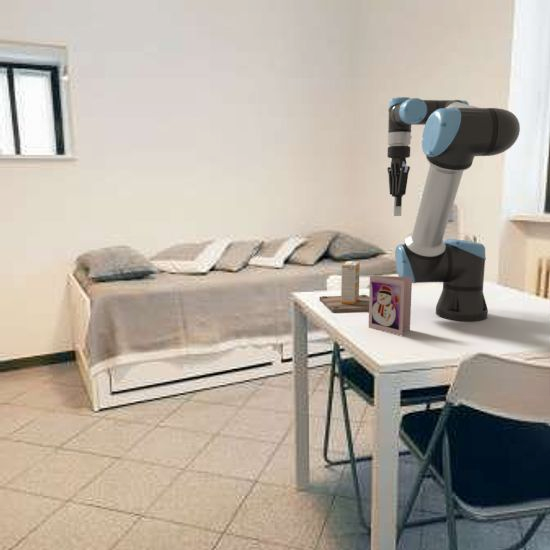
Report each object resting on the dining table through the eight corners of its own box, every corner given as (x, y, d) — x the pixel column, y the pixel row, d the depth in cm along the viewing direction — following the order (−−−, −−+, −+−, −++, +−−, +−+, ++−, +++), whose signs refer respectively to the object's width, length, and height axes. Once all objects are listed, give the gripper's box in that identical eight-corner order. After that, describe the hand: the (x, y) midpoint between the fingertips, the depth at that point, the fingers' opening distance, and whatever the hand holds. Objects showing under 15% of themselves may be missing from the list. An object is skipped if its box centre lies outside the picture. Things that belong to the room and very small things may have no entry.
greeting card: (366, 328, 150) (367, 276, 147) (382, 323, 155) (384, 272, 152) (400, 336, 141) (402, 281, 139) (416, 331, 146) (418, 278, 144)
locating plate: (383, 310, 170) (383, 305, 169) (332, 312, 167) (332, 307, 167) (366, 298, 187) (366, 294, 187) (319, 300, 185) (319, 295, 185)
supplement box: (355, 304, 173) (356, 265, 170) (340, 303, 174) (341, 264, 172) (359, 299, 180) (360, 261, 178) (345, 298, 182) (346, 260, 179)
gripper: (418, 144, 173) (415, 216, 177) (401, 147, 186) (398, 214, 190) (396, 144, 172) (394, 217, 176) (381, 147, 184) (379, 214, 188)
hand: (396, 215), depth 183 cm, fingers closed
